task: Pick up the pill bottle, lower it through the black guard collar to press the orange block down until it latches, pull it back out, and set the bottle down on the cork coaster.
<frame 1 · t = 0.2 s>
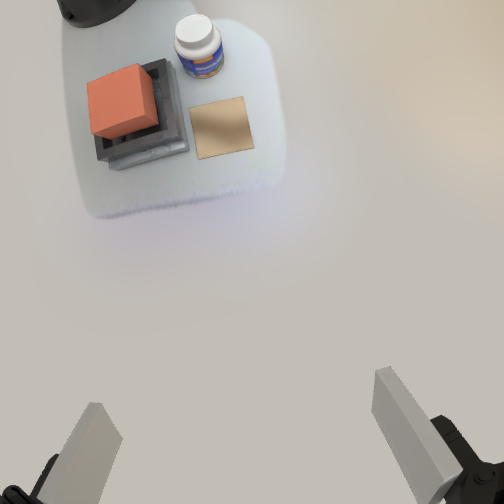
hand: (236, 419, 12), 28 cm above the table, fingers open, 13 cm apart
pill bottle: (204, 62, 32), on the table
orange block: (122, 103, 26), point 8 cm above the table, slide at 0.0 cm
grey square tray: (145, 117, 34), on the table
coaster: (221, 127, 34), on the table
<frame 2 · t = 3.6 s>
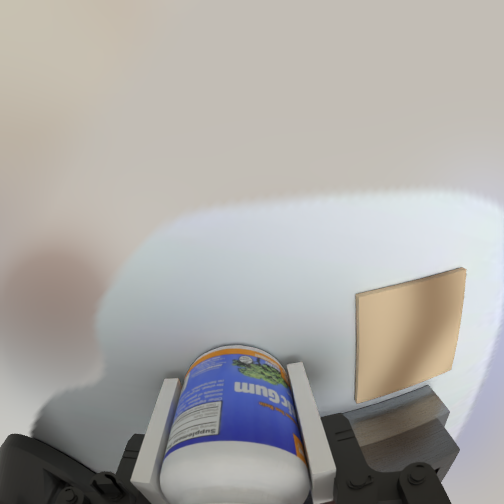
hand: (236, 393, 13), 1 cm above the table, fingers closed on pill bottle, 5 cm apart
pill bottle: (236, 381, 14), on the table, touching gripper
grey square tray: (343, 455, 16), on the table
coaster: (411, 337, 14), on the table
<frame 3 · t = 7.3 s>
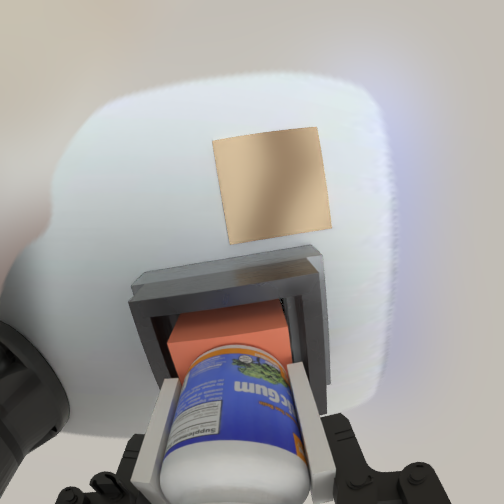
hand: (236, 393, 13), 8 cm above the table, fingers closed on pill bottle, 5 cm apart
pill bottle: (236, 381, 14), point 7 cm above the table, touching orange block, gripper
orange block: (237, 358, 17), point 5 cm above the table, slide at 3.3 cm, touching pill bottle
grey square tray: (238, 323, 21), on the table
coaster: (273, 184, 19), on the table
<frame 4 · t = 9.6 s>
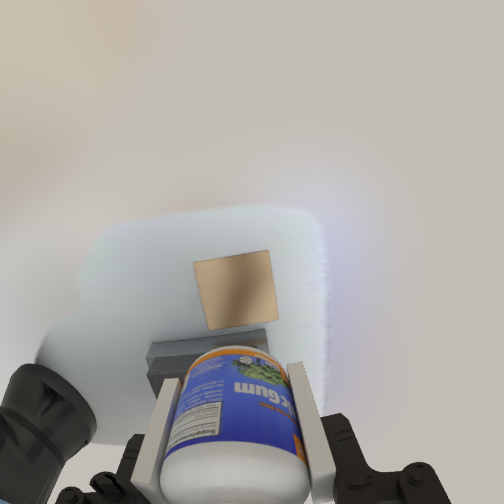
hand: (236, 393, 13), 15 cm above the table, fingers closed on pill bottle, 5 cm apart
pill bottle: (236, 381, 14), point 14 cm above the table, touching gripper
orange block: (214, 402, 25), point 5 cm above the table, slide at 3.3 cm
grey square tray: (217, 375, 30), on the table
coaster: (237, 291, 28), on the table
when the fingers open (3 cm above the table, at t = 11.6 s): pill bottle drops 1 cm, resting on coaster.
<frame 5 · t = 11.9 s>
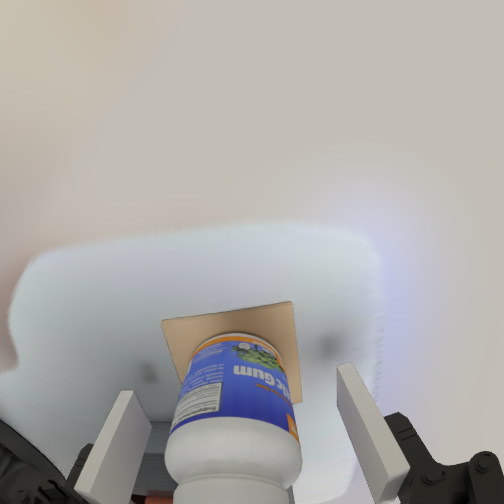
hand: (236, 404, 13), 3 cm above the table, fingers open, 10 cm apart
pill bottle: (236, 367, 16), resting on coaster
grey square tray: (209, 461, 18), on the table
coaster: (236, 365, 16), on the table
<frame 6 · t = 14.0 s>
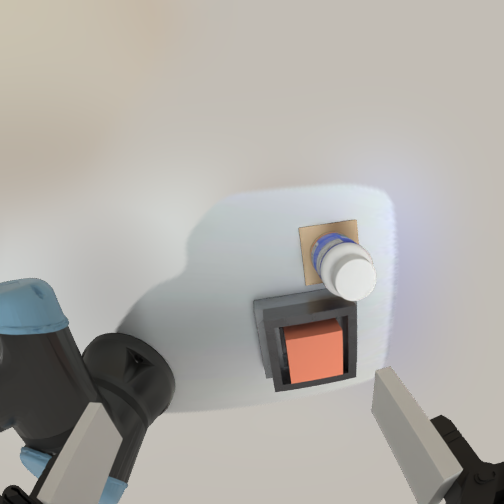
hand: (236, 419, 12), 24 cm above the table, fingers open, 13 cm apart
pill bottle: (330, 253, 34), resting on coaster
orange block: (312, 346, 32), point 5 cm above the table, slide at 3.3 cm
grey square tray: (306, 327, 37), on the table
coaster: (330, 252, 34), on the table
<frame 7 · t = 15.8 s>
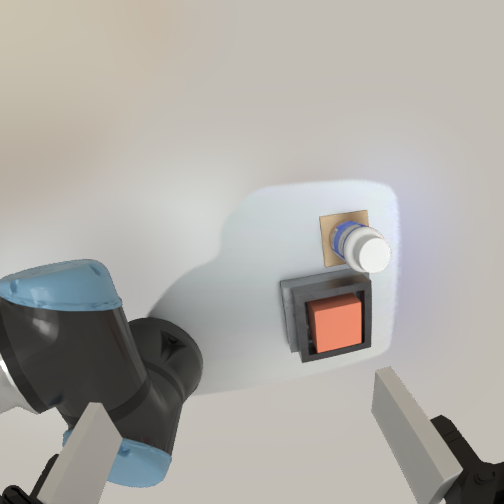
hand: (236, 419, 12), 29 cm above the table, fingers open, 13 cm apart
pill bottle: (346, 238, 39), resting on coaster
orange block: (333, 319, 37), point 5 cm above the table, slide at 3.3 cm
grey square tray: (324, 305, 42), on the table
coaster: (345, 238, 39), on the table
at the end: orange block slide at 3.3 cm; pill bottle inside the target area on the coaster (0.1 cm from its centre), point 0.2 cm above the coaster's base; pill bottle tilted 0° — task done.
